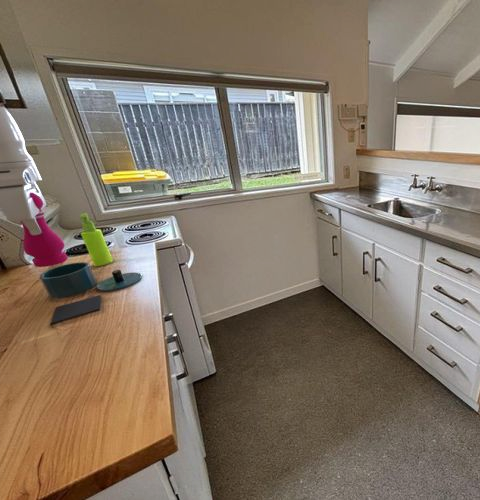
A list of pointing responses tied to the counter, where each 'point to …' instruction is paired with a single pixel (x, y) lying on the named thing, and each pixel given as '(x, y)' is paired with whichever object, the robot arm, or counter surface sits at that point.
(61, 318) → the mat
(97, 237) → the soap dispenser
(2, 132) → the robot arm
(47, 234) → the pepper mill
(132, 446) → the counter surface
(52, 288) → the pot
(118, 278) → the lid
